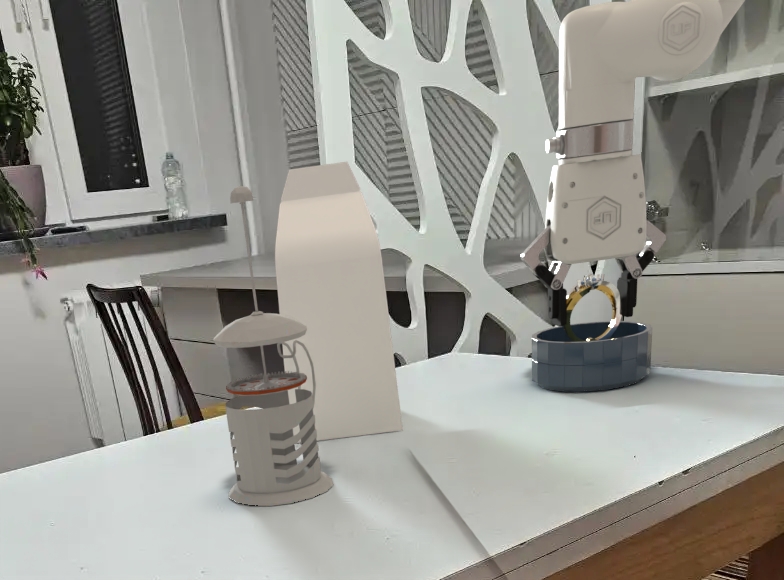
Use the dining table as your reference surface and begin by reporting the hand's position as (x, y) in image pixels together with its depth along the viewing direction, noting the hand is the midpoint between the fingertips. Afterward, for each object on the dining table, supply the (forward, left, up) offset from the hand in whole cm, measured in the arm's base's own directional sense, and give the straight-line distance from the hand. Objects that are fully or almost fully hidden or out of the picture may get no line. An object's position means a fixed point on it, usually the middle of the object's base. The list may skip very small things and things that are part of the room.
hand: (591, 318), depth 104 cm
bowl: (0, 0, -7) cm, 7 cm away
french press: (+38, +25, -7) cm, 46 cm away
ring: (0, 0, -3) cm, 3 cm away
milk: (+30, +5, -7) cm, 31 cm away
